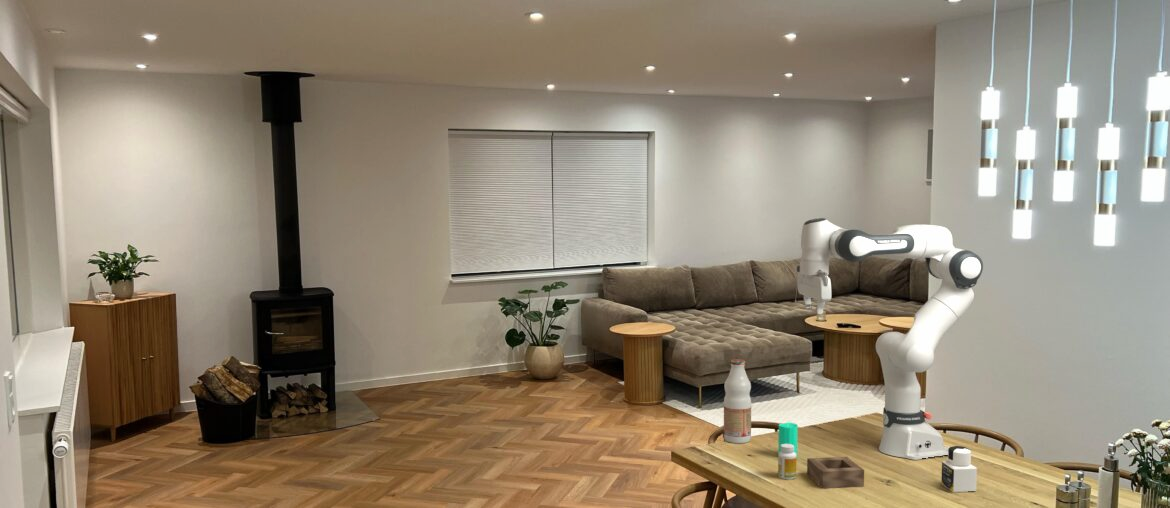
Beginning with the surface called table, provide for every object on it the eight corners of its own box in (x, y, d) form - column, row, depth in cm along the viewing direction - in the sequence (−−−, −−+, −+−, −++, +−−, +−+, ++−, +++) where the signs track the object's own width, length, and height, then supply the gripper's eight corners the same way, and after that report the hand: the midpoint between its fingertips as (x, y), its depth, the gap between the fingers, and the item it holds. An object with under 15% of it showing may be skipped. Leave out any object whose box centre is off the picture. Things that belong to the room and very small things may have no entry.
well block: (846, 472, 267) (846, 456, 267) (863, 486, 255) (864, 469, 254) (807, 474, 265) (807, 458, 265) (822, 488, 253) (823, 471, 253)
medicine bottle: (940, 484, 256) (942, 444, 255) (964, 483, 257) (965, 443, 256) (952, 492, 249) (953, 451, 248) (976, 491, 250) (978, 451, 249)
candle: (795, 453, 286) (796, 418, 285) (798, 459, 280) (798, 423, 279) (777, 453, 286) (777, 417, 285) (779, 459, 280) (779, 422, 279)
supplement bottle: (799, 476, 264) (799, 445, 263) (790, 481, 260) (791, 449, 259) (783, 472, 267) (784, 441, 267) (774, 477, 263) (775, 445, 263)
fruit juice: (729, 444, 296) (729, 363, 294) (719, 437, 305) (720, 358, 303) (755, 443, 298) (756, 362, 296) (744, 435, 307) (745, 357, 305)
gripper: (837, 272, 269) (836, 316, 270) (812, 265, 289) (811, 307, 290) (817, 272, 268) (816, 316, 269) (794, 266, 288) (793, 307, 290)
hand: (813, 311), depth 280 cm, fingers open, 8 cm apart
